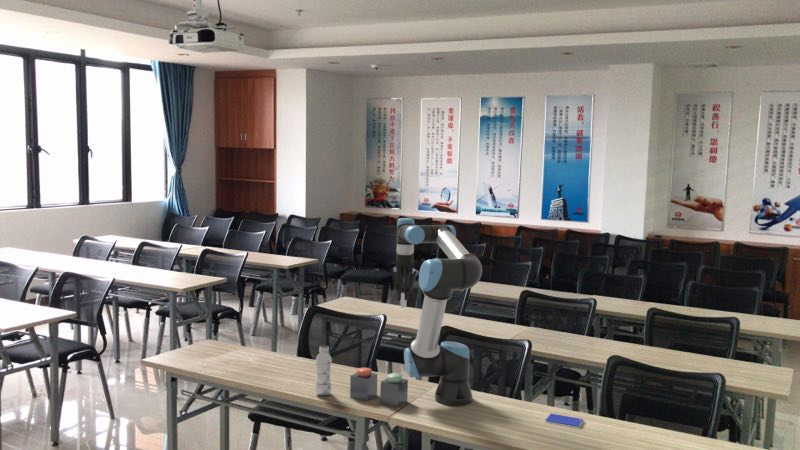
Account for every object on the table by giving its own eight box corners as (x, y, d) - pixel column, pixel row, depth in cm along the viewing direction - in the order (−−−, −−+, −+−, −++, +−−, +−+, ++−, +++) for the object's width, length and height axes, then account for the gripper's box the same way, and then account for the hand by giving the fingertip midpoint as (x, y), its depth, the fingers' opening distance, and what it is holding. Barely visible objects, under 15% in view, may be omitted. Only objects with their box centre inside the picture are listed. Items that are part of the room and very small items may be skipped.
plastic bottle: (328, 398, 277) (329, 349, 276) (312, 396, 279) (313, 348, 277) (333, 392, 284) (334, 345, 282) (317, 391, 285) (318, 344, 283)
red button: (373, 392, 282) (374, 369, 281) (366, 396, 276) (366, 372, 275) (361, 389, 284) (361, 366, 284) (353, 393, 279) (354, 370, 278)
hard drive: (583, 418, 260) (550, 412, 265) (579, 425, 252) (545, 419, 257) (583, 422, 260) (550, 416, 265) (579, 429, 252) (545, 423, 258)
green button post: (407, 401, 276) (407, 379, 275) (398, 407, 269) (398, 385, 268) (389, 397, 279) (390, 376, 279) (380, 403, 272) (380, 381, 272)
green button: (404, 398, 275) (404, 374, 274) (397, 402, 270) (397, 378, 269) (390, 395, 278) (391, 372, 277) (383, 400, 273) (384, 376, 272)
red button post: (376, 395, 282) (377, 373, 281) (367, 401, 275) (367, 379, 274) (360, 391, 286) (360, 370, 285) (350, 397, 279) (350, 375, 278)
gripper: (422, 254, 299) (420, 307, 301) (395, 251, 305) (394, 303, 307) (414, 255, 292) (413, 310, 295) (387, 253, 298) (386, 306, 301)
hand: (403, 307), depth 301 cm, fingers closed
